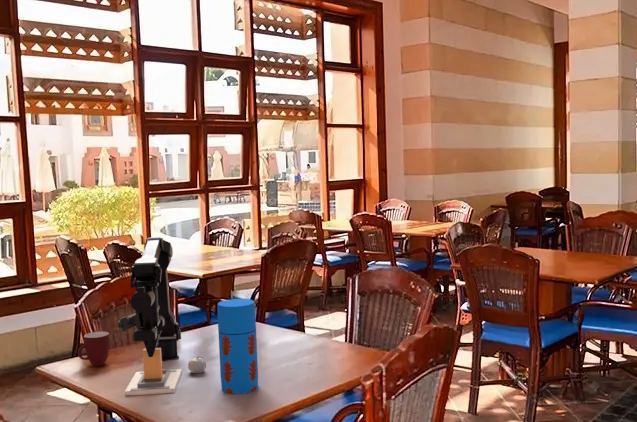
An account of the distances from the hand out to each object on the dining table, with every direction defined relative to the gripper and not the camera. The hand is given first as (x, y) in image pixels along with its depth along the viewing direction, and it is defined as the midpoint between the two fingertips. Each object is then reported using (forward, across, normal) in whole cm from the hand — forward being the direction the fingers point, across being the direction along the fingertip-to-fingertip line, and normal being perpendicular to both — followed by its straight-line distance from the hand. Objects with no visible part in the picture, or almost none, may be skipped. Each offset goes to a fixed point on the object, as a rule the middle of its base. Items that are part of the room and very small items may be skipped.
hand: (150, 356), depth 201 cm
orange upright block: (+8, -2, 0) cm, 8 cm away
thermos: (+10, +5, +26) cm, 28 cm away
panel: (+9, -4, 0) cm, 10 cm away
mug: (+10, -27, -23) cm, 36 cm away
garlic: (+10, -13, +12) cm, 20 cm away
